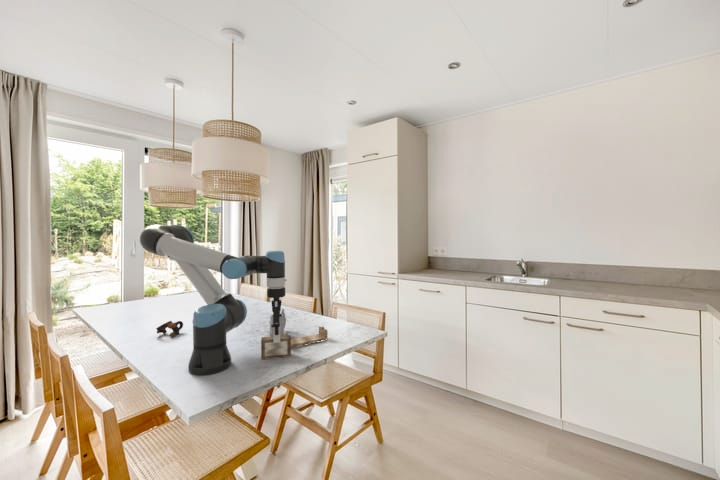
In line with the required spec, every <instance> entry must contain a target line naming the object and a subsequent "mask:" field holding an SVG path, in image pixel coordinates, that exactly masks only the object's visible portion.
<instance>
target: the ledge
mask: <svg viewBox="0 0 720 480" xmlns="http://www.w3.org/2000/svg"><path fill="white" fill-rule="evenodd" d="M284 335H289V334H288V333H284V334H283V335H282V336H284ZM326 339H327V340H328V329H326V328H325V327H324V326H318V333H317V334H312V335H307V336H303V337H296V338H291V349H294V348H293V347H295V348H298V347H297V346H300V347H302V346H301V345H305V344H309V343H313V342H317V341H321V340H326ZM309 345H310V344H309ZM305 346H306V345H305Z"/></svg>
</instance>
